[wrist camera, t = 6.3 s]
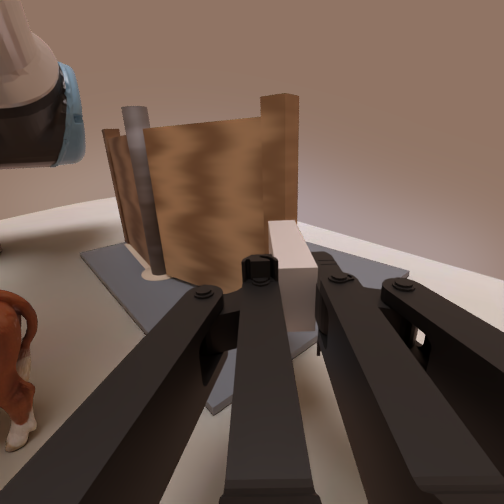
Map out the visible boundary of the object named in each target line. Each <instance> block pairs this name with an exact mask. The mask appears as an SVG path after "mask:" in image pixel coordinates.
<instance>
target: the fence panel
mask: <svg viewBox="0 0 504 504" xmlns="http://www.w3.org/2000/svg"><path fill="white" fill-rule="evenodd" d="M260 101H261V102H260V103H261V117H254V118H244V119H235V120H225V121H214V122H204V123H194V124H186V125H175V126H165V127H155V128H145V129H143V134H144V140H145V146H146V153H147V159H148V165H149V171H150V177H151V183H152V189H153V195H154V201H155V207H156V213H157V219H158V225H159V232H160V238H161V244H162V250H163V256H164V262H165V268H166V274H167V275H169V276H172V277H174V278H177V279H180V280H183V281H186V282H189V283H192V284H195V285H198V286H199V285H204V284H206V285H214V286H218V287H220V288H221V289H222V291H223V294H227V293H231V292H234V291H237V290H239V289H240V288H242V283H243V282H242V265H241V261H242V260H243V259H244V258H246V257H248V256H250V255H255V254H269V233H268V221H281V220H295V222H296V224H297V199H298V131H299V96H297V95H292V94H287V93H282V94H276V95H269V96H262V97H260Z"/></svg>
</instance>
